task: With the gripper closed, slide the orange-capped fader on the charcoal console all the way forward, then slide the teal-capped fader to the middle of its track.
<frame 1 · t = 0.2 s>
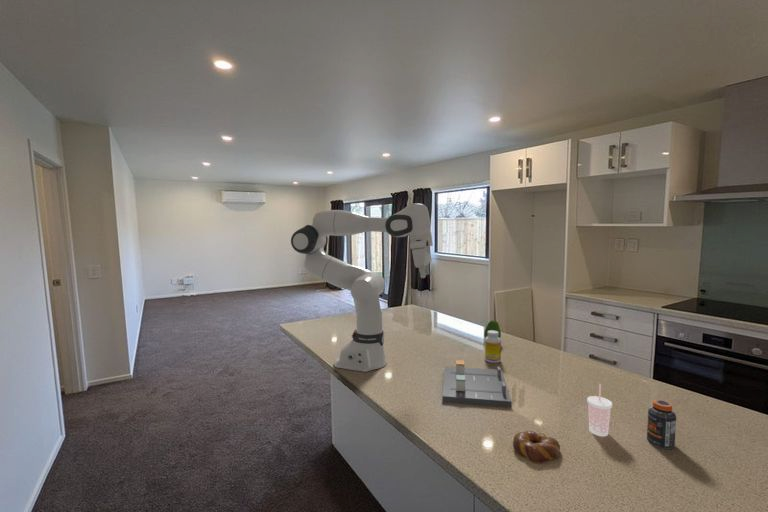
hand: (425, 276, 146), 38 cm above the countertop, tool pointing down, fingers open, 8 cm apart
pretzel: (536, 451, 93), on the countertop
supplement bottle: (492, 361, 156), on the countertop
fader A: (460, 367, 138), point 4 cm above the countertop, slide at -5.0 cm
avocado: (492, 344, 178), on the countertop
pill bottle: (660, 443, 95), on the countertop
fader B: (460, 382, 124), point 4 cm above the countertop, slide at -5.0 cm
beverage cup: (598, 432, 101), on the countertop
console: (474, 387, 130), on the countertop
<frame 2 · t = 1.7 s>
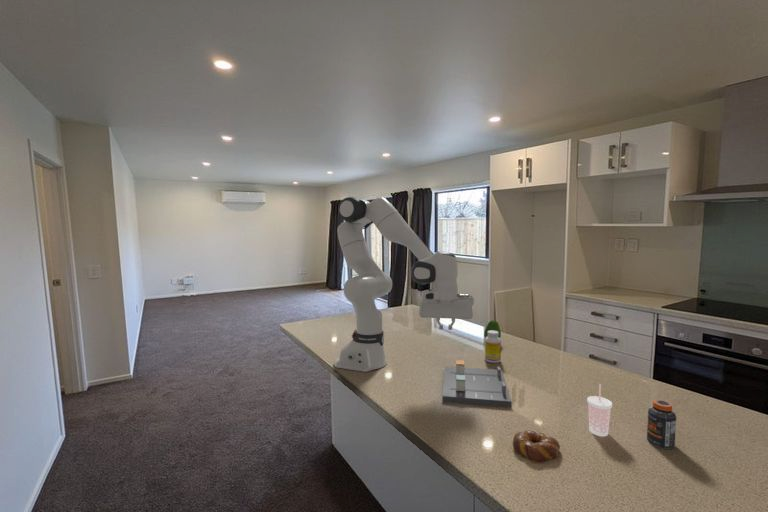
hand: (445, 329, 138), 19 cm above the countertop, tool pointing down, fingers closed
nothing on the countertop moved.
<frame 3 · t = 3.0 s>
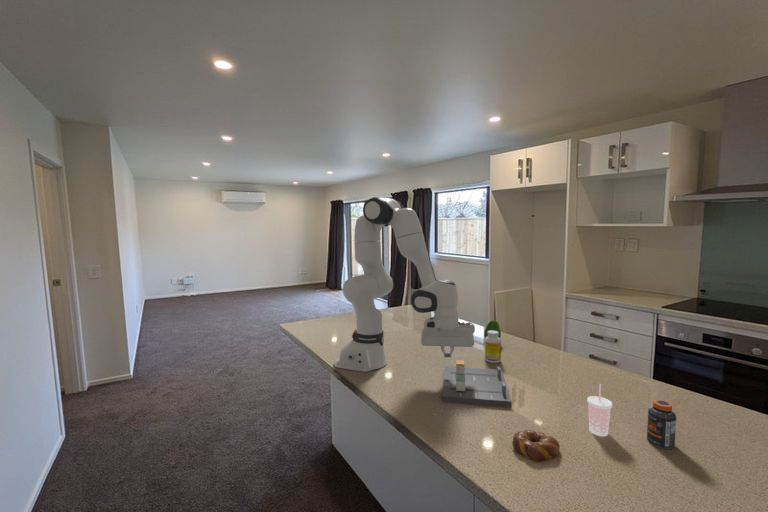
hand: (447, 357, 138), 8 cm above the countertop, tool pointing down, fingers closed
nothing on the countertop moved.
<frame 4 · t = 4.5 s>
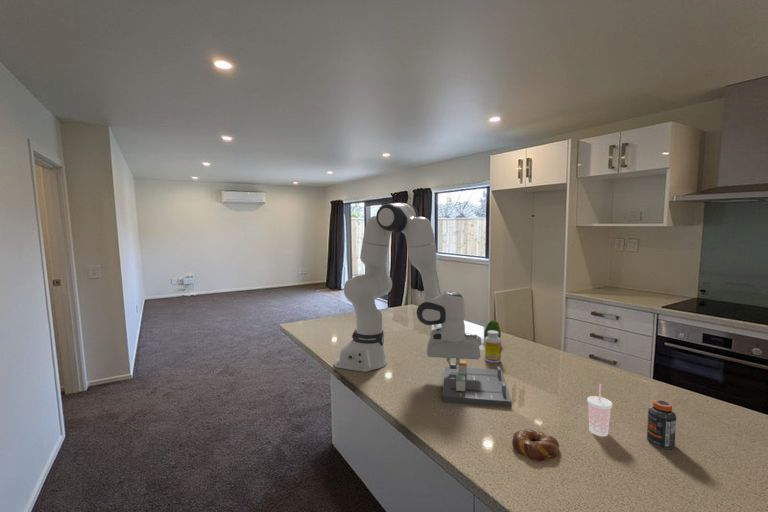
hand: (453, 368, 138), 4 cm above the countertop, tool pointing down, fingers closed
fader A: (462, 367, 137), point 4 cm above the countertop, slide at -4.2 cm, touching gripper
everything else where it was.
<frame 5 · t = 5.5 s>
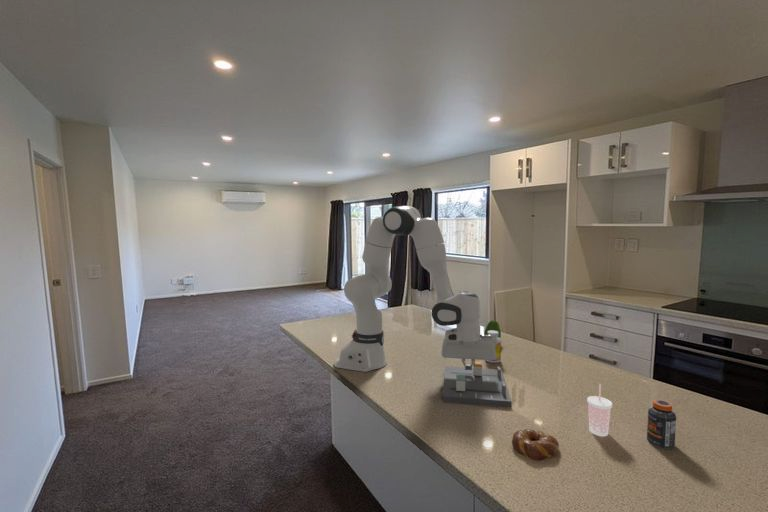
hand: (468, 369, 137), 4 cm above the countertop, tool pointing down, fingers closed
fader A: (477, 368, 136), point 4 cm above the countertop, slide at 1.5 cm, touching gripper
everything else where it was.
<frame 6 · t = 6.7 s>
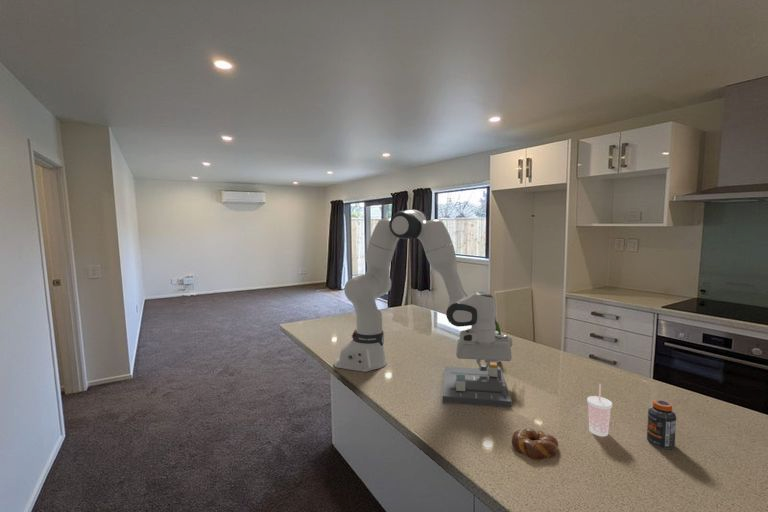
hand: (483, 370, 136), 4 cm above the countertop, tool pointing down, fingers closed
fader A: (492, 369, 135), point 4 cm above the countertop, slide at 7.0 cm, touching gripper
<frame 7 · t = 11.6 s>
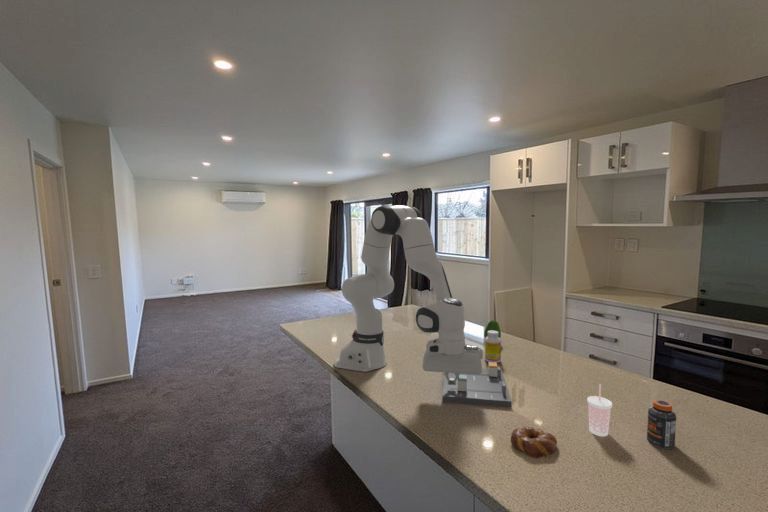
hand: (451, 384, 124), 4 cm above the countertop, tool pointing down, fingers closed
fader A: (492, 369, 135), point 4 cm above the countertop, slide at 7.0 cm
fader B: (462, 382, 124), point 4 cm above the countertop, slide at -4.5 cm, touching gripper
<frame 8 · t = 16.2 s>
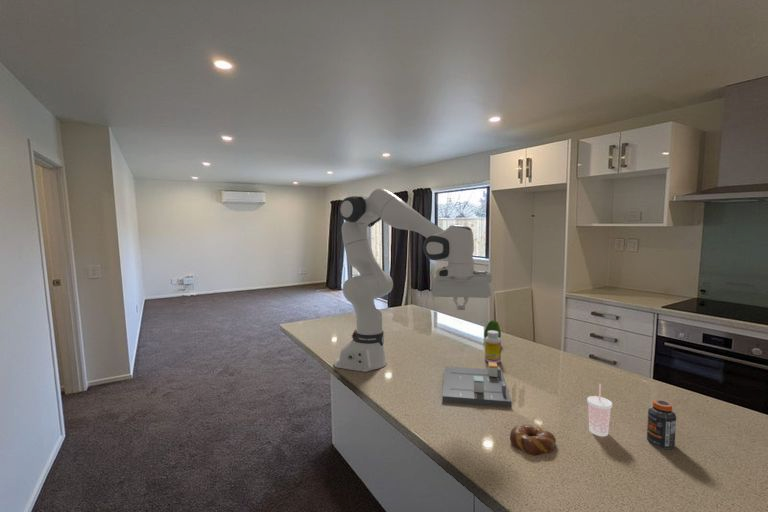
hand: (460, 309, 127), 29 cm above the countertop, tool pointing down, fingers closed
fader B: (478, 384, 123), point 4 cm above the countertop, slide at 1.1 cm
at the end: fader A slide at 7.0 cm; fader B slide at 1.1 cm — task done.
